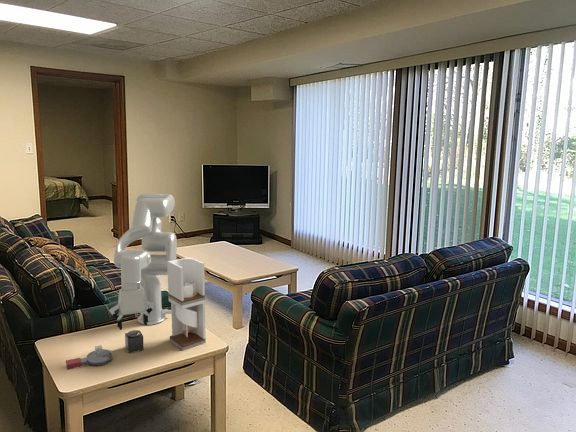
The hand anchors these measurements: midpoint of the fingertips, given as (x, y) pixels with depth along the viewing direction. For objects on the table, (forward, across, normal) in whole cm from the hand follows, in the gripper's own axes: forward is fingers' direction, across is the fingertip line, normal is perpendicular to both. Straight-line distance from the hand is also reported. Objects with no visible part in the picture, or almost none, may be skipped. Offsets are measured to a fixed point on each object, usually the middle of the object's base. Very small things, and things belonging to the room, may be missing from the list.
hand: (133, 326), depth 185 cm
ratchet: (+10, +17, +3) cm, 20 cm away
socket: (+10, 0, -1) cm, 10 cm away
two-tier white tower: (+10, -22, +3) cm, 24 cm away
